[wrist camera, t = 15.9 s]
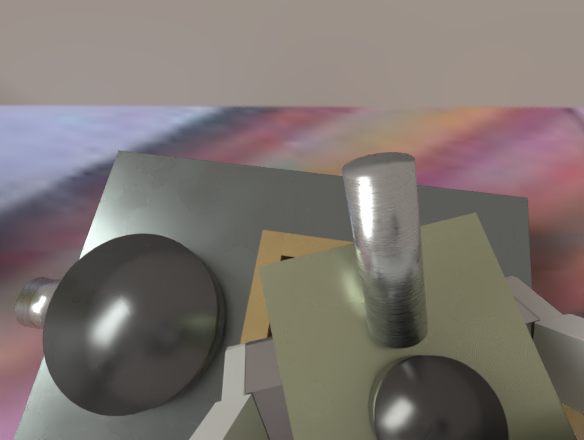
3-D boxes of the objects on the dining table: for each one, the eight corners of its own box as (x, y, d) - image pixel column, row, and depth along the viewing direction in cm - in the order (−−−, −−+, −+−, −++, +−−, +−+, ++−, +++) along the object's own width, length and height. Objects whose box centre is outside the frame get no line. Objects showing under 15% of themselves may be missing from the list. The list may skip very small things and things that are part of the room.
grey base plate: (-8, 479, 17) (-116, 521, 13) (105, 171, 22) (55, 129, 18) (504, 603, 14) (583, 708, 10) (497, 220, 19) (546, 183, 15)
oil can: (318, 426, 14) (308, 689, 3) (288, 294, 16) (213, 168, 5) (429, 398, 14) (802, 563, 3) (386, 269, 16) (530, 91, 5)
